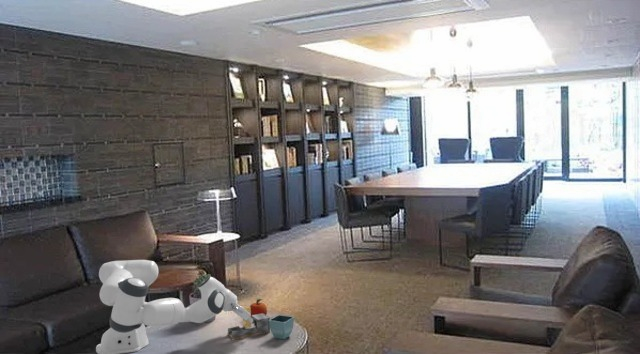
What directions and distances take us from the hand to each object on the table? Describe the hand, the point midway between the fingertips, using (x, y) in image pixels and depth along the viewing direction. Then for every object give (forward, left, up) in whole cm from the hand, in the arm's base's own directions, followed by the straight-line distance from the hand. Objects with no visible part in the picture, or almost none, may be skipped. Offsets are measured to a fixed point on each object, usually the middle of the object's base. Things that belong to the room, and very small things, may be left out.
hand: (248, 318), depth 264 cm
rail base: (-1, 0, -7) cm, 7 cm away
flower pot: (+11, -13, -8) cm, 19 cm away
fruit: (+12, +18, -8) cm, 23 cm away
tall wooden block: (+3, 0, -6) cm, 7 cm away
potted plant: (-11, +31, -8) cm, 34 cm away
